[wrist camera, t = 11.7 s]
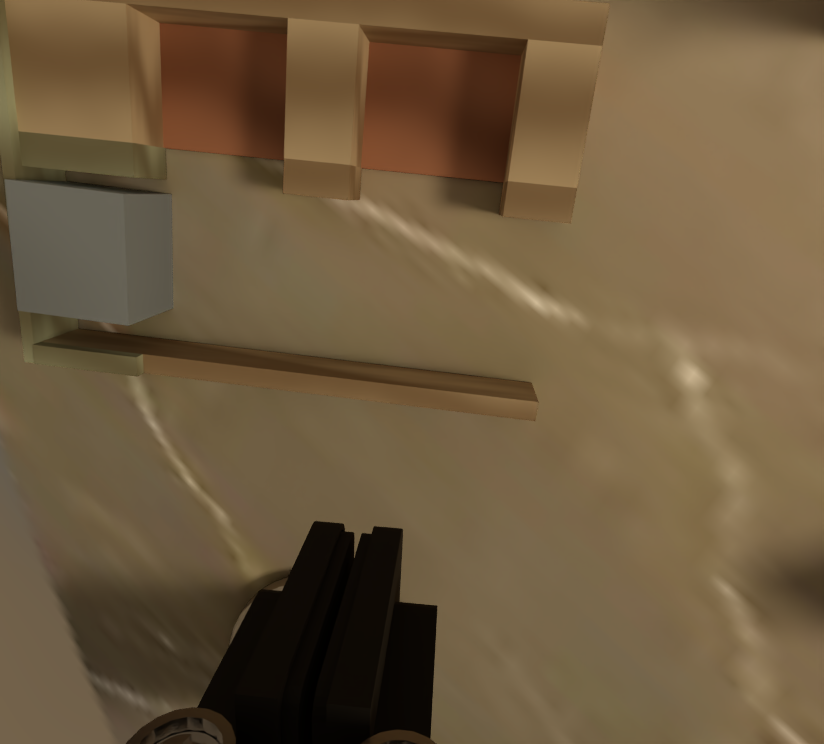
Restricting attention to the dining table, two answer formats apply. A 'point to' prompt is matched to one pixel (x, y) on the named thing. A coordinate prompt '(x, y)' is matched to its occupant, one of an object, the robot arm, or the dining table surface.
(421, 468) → the dining table surface
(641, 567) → the dining table surface
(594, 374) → the dining table surface
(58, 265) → the block
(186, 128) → the channel
